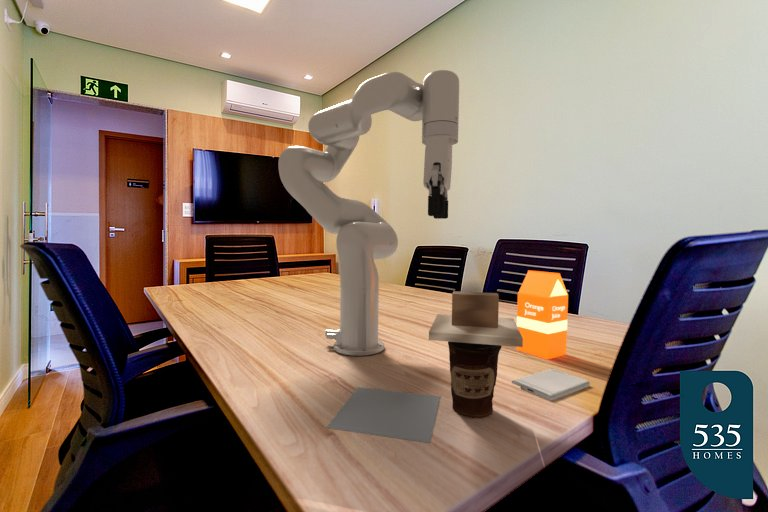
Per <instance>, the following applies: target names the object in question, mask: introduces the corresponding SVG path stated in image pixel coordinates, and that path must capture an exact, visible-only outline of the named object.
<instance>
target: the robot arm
mask: <svg viewBox="0 0 768 512" xmlns="http://www.w3.org/2000/svg"><path fill="white" fill-rule="evenodd" d="M384 111H390V112H392V113H394V114H396V115H399V116H400V117H402V118H404V119H406V120H409V121H411V122H420V121H421V143H422V145H424V146H425V147H424V148H425V149H424V163H423V166H424V167H423V182H422V183H423V187H424V188H425V189H426V190H427V191H428V196H427V215H428V216H429V217H433V218H434V219H437V220H439V219H445V220H446V219H448V218H449V199H448V191H450V189H451V182H452V171H453V170H452V169H453V165H452V164H453V146H454V145H456V144H458V143H459V123H460V122H459V121H460V120H459V119H460V118H459V117H460V114H459V113H460V79H459V76H458V75H457V73H456V72H454V71H452V70H446V69H439V70H434V71H431V72H430V73H428V74H427V75H425V77H424V79H423V82H422V83H419V82H417V81H415V80H414V79H412V78H411V77H409V76H408V75H405V74H404V73H403V72H399V71H389V72H385V73H382V74H380V75H377V76H374V77H371V78H369V79H367V80H365V81H363V82H362V83H361V84H360V85H359V86H358V88H357V89H356V90H355V92H354V93H353V95H352V97H351V99H349V100H346V101H344V102H341V103H338V104H336V105H333V106H330V107H328V108H325V109H322V110H320V111H318V112H316V113H314V114H313V115H311V117H310V119H309V121H308V127H307V128H308V131H309V134H310V136H311V137H312V138H313V139H314V141H316V142H317V143H319V144H321V145H324V146H327V147H326V148H325V150H324V151H322V150H319V149H314V148H310V147H307V146H300V145H294V146H293V145H292V146H288V147H287V148H285V149H284V150H282V151H281V153H280V155H279V158H278V173H279V178H280V181H281V183H282V184H283V187H284V188H285V190H286V191H287V192H288V194H290V196H291V197H292V198H293V199H295V200H296V201H297V202H298V203H299V204H300V205H301V206H302V207H303V209H305V210H306V212H307V213H308V214H309V215H310V216H311V217H312V218H313V219H314V220H315V221H316V222H317V223H318V225H320V226H321V227H322V229H324V230H325V231H326V232H327V233H330V234H335V235H336V239H335V240H336V244H335V246H336V251H337V256H338V263H339V281H340V283H339V284H340V285H339V287H340V288H339V289H340V291H339V293H340V296H339V297H340V299H339V302H340V303H339V305H340V310H339V311H340V312H339V315H340V316H339V317H340V319H339V320H340V321H339V322H340V323H339V325H340V326H339V327H340V328H339V329H337V330H334V329H326V330H325V333H324V334H325V337H326V339H327V340H335V342H334V343H333V350H334V351H335V352H337V353H339V354H341V355H345V356H357V357H358V356H359V357H360V356H362V357H363V356H370V355H375V354H378V353H381V352H383V350H385V342H383V341H382V340H380V339H379V302H380V300H379V298H380V297H379V293H380V292H379V290H380V289H379V288H380V287H379V282H380V281H379V280H380V279H379V273H378V269H377V266H376V263H375V260H382V259H383V260H384V259H387V258H389V257H391V256H393V255H394V254H395V252H396V250H397V248H398V245H399V239H398V235H397V233H396V231H395V229H394V228H393V226H391V224H390V223H388V222H387V220H385V219H384V217H382V216H381V215H380V214H379V213H378V212H376V210H374V209H373V208H372V207H371V206H370V205H368V204H366V203H365V202H363V201H360V200H357V199H356V200H355V199H349V198H344V197H341V196H338V195H337V194H336V193H334V192H333V190H331V189H330V188H329V186H328V185H326V184H325V183H329V182H331V181H333V180H335V179H336V178H337V176H339V174H340V173H341V171H342V169H343V168H344V166H345V165H346V163H347V161H348V160H349V159H350V157H351V156H352V154H353V152H354V150H355V149H356V147H357V145H358V142H359V141H360V136H364V135H365V134H367V133H368V132H369V131H370V129H371V127H372V122H373V121H372V119H373V117H372V115H374V114H376V113H377V114H378V113H380V112H384Z"/></svg>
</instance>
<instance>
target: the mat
mask: <svg viewBox="0 0 768 512" xmlns="http://www.w3.org/2000/svg"><path fill="white" fill-rule="evenodd" d="M440 402H441V396H440V395H434V394H433V395H431V394H423V393H413V392H406V391H397V390H389V389H380V388H372V387H361V386H358V387H357V388H356V389H355V391H354V392H353V393H352V395H350V397H349V398H348V399H347V401H346V402H345V403H344V405H343V406H342V407H341V408H340V409H339V410H338V411H337V413H336V414H335V415H334V417H333V418H332V420H331V421H330V422H329V423H328V424H327V426H326V427H325V428H326V429H331V430H336V431H337V430H339V431H344V432H351V433H352V432H353V433H357V434H358V433H359V434H366V435H371V436H379V437H386V438H392V439H400V440H404V441H405V440H406V441H413V442H419V443H425V444H427V443H428V444H431V440H432V436H433V431H434V427H435V423H436V418H437V413H438V410H439V405H440Z"/></svg>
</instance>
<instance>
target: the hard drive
mask: <svg viewBox="0 0 768 512" xmlns="http://www.w3.org/2000/svg"><path fill="white" fill-rule="evenodd" d="M511 384H514V385H515V386H518V387H520V389H521V390H523V391H525V392H528V393H530V394H533V395H535V396H537V397H540V398H543V399H544V400H547V401H549V402H551V401H554V400H557V399H560V398H562V397H565V396H567V395H571V394H573V393H576V392H578V391H581V390H583V389H585V388H586V389H587V388H589V387H590V384H591V383H590V381H589V380H588V379H585V378H582V377H579V376H576V375H573V374H570V373H567V372H564V371H561V370H559V369H555V368H549V369H545V370H543V371H539V372H535V373H531V374H529V375H525V376H522V377H519V378H516V379H513V380H511Z"/></svg>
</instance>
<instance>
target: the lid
mask: <svg viewBox="0 0 768 512" xmlns="http://www.w3.org/2000/svg"><path fill="white" fill-rule="evenodd" d="M451 293H452V294H451V296H452V297H451V314H443V313H442V314H441V313H437V314H436V316H435V318H434V321H433V322H432V325H431V327H430V329H429V331H428V341H438V342H448V341H449V342H462V343H475V344H488V345H501V346H502V347H503V346H505V347H513V348H514V347H515V348H516V347H523V337H522V335H521V333H520V331H519V329H518V327H517V322H516V321H515V320H514V318H511V317H510V318H509V317H499V303H500V302H499V301H500V299H499V298H500V295H499V293H497V292H478V291H477V292H475V291H474V292H473V291H455V290H454V291H453V292H451Z"/></svg>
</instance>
